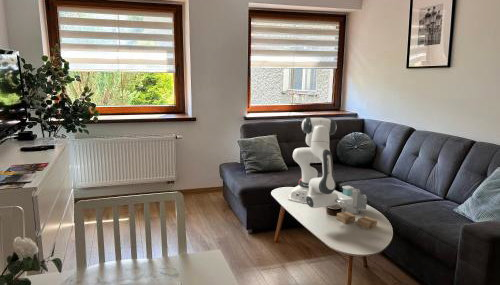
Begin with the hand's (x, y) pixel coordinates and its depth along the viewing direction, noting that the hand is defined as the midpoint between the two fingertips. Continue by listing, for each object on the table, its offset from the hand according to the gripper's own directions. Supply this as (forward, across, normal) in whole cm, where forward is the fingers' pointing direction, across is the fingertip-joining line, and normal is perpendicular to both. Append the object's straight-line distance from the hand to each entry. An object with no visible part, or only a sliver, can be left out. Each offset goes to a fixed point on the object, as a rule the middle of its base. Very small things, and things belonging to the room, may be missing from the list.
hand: (348, 195), depth 230 cm
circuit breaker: (+16, +9, +17) cm, 25 cm away
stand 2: (+6, -11, +17) cm, 21 cm away
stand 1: (-1, 0, +17) cm, 17 cm away
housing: (-1, 0, +6) cm, 7 cm away
